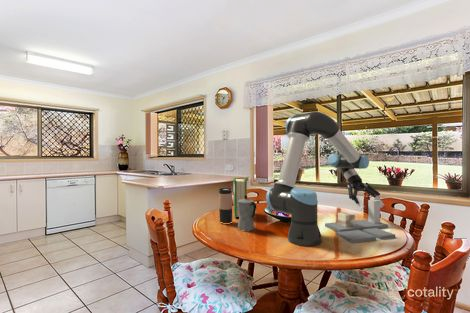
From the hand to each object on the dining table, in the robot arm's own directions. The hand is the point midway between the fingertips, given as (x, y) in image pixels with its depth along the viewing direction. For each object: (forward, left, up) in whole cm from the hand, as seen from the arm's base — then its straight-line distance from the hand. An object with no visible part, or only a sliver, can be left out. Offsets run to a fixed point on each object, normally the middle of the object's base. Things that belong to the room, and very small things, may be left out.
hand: (372, 207), depth 139 cm
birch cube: (-19, -2, -8) cm, 20 cm away
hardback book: (-65, +43, -10) cm, 78 cm away
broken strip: (-20, -16, -9) cm, 27 cm away
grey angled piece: (-13, -2, -9) cm, 16 cm away
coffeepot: (-70, +12, -10) cm, 72 cm away
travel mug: (-78, +28, -10) cm, 83 cm away
